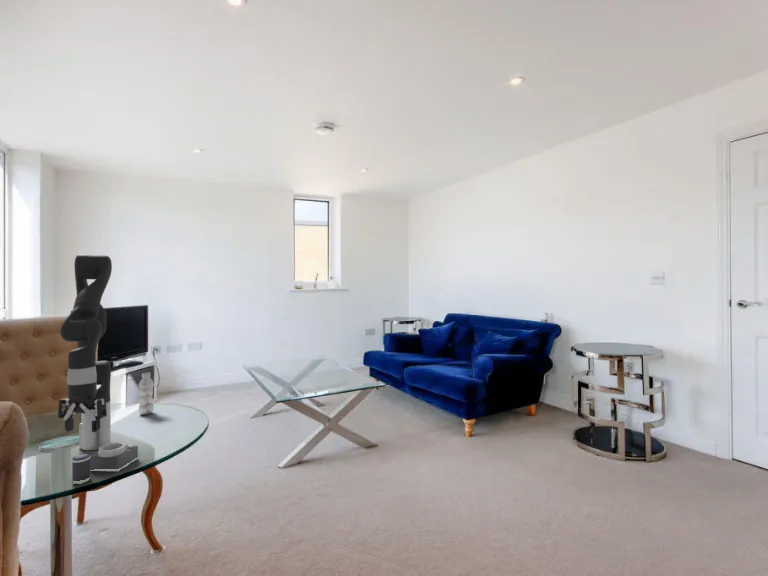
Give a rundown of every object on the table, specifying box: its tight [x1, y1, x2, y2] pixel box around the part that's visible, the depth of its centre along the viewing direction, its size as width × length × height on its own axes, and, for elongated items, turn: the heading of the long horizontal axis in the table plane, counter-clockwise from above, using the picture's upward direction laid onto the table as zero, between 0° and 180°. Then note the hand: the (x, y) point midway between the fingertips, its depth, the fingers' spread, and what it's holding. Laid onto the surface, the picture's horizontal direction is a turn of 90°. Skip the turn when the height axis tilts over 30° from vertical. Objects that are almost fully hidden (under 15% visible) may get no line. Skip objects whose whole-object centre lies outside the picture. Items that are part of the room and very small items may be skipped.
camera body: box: [90, 441, 139, 470], centre depth 141 cm, size 10×10×7 cm
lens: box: [71, 453, 91, 481], centre depth 129 cm, size 5×5×8 cm
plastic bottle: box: [138, 371, 155, 416], centre depth 195 cm, size 6×7×20 cm
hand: (82, 431), depth 129 cm, fingers open, 8 cm apart
